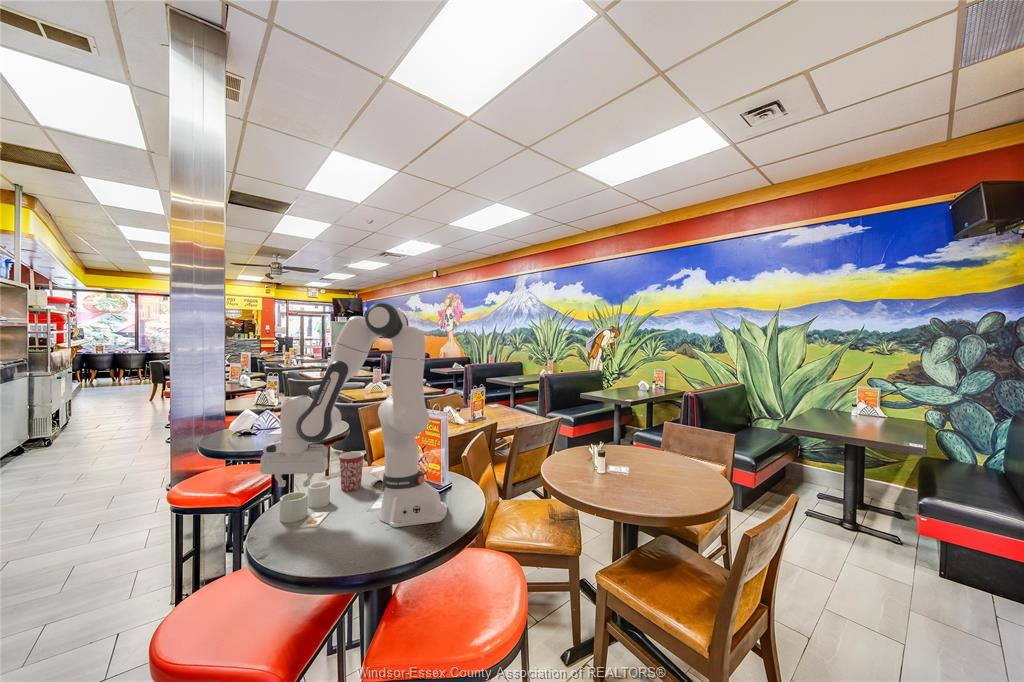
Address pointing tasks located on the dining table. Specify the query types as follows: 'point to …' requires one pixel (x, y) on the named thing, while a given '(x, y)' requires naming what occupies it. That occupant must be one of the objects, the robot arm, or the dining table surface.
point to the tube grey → (318, 494)
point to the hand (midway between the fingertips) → (294, 486)
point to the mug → (351, 471)
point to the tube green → (293, 507)
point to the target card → (314, 520)
